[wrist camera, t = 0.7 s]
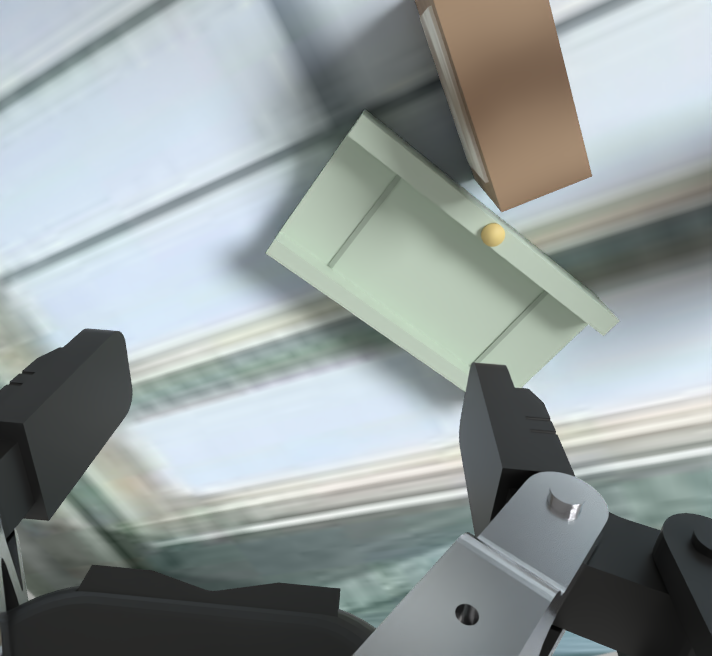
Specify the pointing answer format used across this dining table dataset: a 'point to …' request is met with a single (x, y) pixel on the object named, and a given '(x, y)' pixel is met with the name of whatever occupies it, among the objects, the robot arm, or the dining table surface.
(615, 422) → the dining table surface
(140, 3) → the dining table surface
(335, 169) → the ledge
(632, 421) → the dining table surface
